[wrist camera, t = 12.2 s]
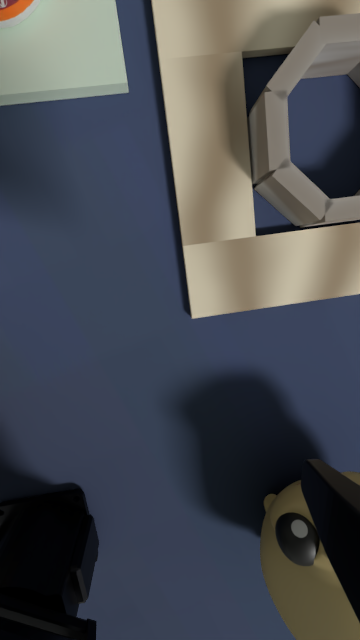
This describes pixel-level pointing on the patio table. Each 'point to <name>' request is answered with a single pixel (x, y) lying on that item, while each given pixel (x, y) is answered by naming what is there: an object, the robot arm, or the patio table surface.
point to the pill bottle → (16, 11)
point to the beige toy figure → (303, 570)
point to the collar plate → (253, 150)
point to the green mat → (62, 53)
